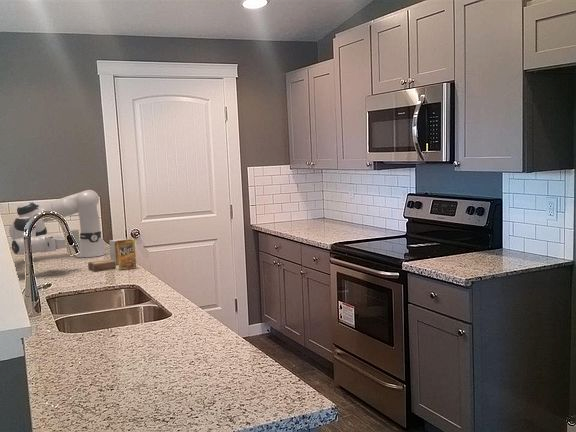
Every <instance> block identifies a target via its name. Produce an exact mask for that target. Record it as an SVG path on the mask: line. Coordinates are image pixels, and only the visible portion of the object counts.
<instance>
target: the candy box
mask: <svg viewBox="0 0 576 432" xmlns="http://www.w3.org/2000/svg"><path fill="white" fill-rule="evenodd" d="M121 239H122V240H117V250H118V263H119V264H118V270H119V271H120V270H130V269H137V256H136V243H135V238H121Z"/></svg>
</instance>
